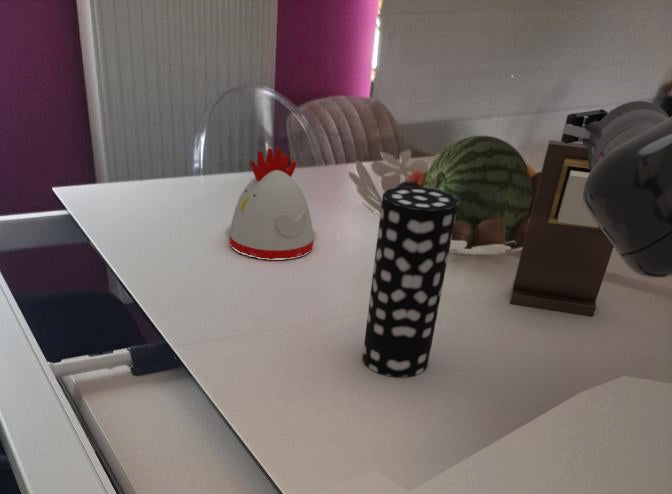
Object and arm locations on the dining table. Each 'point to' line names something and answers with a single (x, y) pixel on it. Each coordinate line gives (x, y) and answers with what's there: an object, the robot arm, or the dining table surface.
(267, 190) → the kitchen timer
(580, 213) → the switch button
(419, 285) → the spotted tube
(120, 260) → the dining table surface
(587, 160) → the wall panel
